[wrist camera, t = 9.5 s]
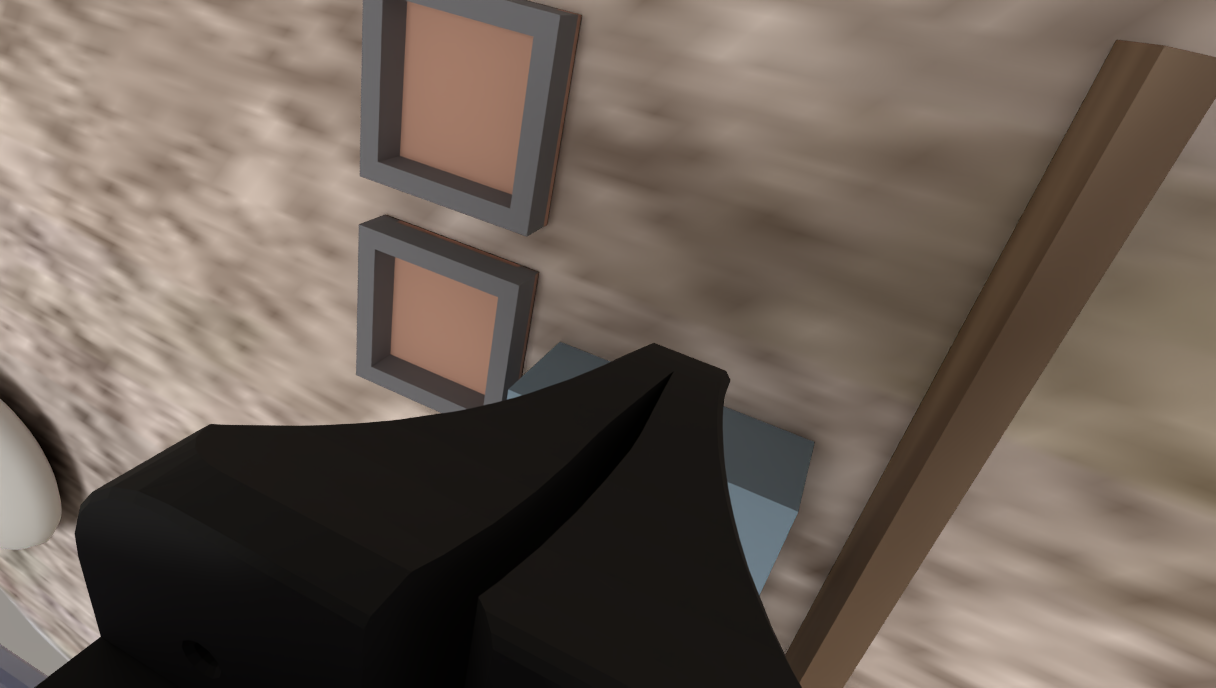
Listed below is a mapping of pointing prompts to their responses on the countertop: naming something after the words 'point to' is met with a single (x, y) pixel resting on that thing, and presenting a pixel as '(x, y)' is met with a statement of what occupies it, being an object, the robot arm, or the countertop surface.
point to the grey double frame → (456, 187)
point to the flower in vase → (25, 487)
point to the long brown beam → (1009, 337)
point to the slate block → (754, 460)
